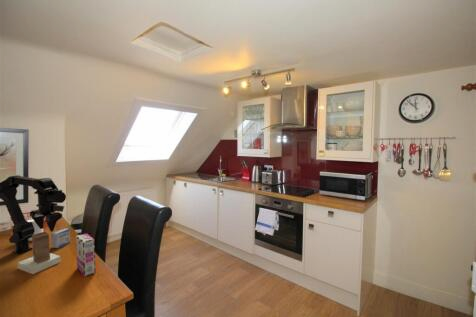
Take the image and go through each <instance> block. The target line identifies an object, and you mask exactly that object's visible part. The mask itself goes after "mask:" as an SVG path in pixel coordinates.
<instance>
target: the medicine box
mask: <svg viewBox="0 0 476 317" xmlns="http://www.w3.org/2000/svg"><path fill="white" fill-rule="evenodd" d="M50 238H51V248H53V249H60V248H62V247H64V246H66V245H68V244H70V243H71V239H70V238H71V236H70V228H62V229H59V230H56V231H53V232H52V233H50Z"/></svg>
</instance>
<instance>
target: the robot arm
mask: <svg viewBox="0 0 476 317" xmlns="http://www.w3.org/2000/svg"><path fill="white" fill-rule="evenodd" d="M20 186H27V187H31V188H32V189H33V190H36V191H34V192H33V194H34V195H37V204H36V207H37V208H38V209H33V210H31V211H30V212H29V217H31V218H30V219H33V220H34V221H35V222H36V224H37V225H38V226H39V228H40V229H43V230H44V224H45V223H46V225H47V227H48V229H49V232H52V233H53V232H54V230H55V226H56V224H57V222H58V221H59V220H61V219H62V218H63V212H64V208H65V206H64V205H59V204H62V203H64V202H65V201H66V199H67V195H66V194H65V192H63V190H62V189H59V188H58V186H57V185H56V184H55V182H54V181H53V179H52V178H50V177H44V178H35V177H34V178H33V177H27V176H21V175H17V174H16V175H10V176H8V177H7V178H6V179H4V180H3V181H0V200H2V201H3V203H4V205H5V208H6V209H7V212H8V213H9V217H10V219H11V220H12V223H13V227H12V235H11V236H10V237H9V239H8V241H9V243H12V244H14V249H13V250H12V251H11V252H12V253H15V254H17V255H19V254H22V253H25V252H28V251H31V250H33V247H30V242H29V238H31V237H32V235H33V234H34V232H35V230H34V228H35V227H34V226H33V223H32V222H28V221H27V220H26V218H25V216H24V213H23V211H22V208H21V206H20V204H19V201H18V199H17V194H18V190H17V188H19V187H20ZM61 212H62V213H61ZM44 221H45V222H44Z"/></svg>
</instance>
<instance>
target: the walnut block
mask: <svg viewBox="0 0 476 317" xmlns="http://www.w3.org/2000/svg"><path fill="white" fill-rule="evenodd" d="M31 242H32V244H31V245H32V257H33V260H34V262H36V263H37V264H39V263H41V262H44V261H47V260H50V252H51V251H50V234H49V233H48V232H46V231H43V232H42V233H38V234H34V235H32V241H31Z"/></svg>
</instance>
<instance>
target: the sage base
mask: <svg viewBox="0 0 476 317" xmlns="http://www.w3.org/2000/svg"><path fill="white" fill-rule="evenodd" d="M61 261H62V260H61V255H58V254H55V253H52V252H51V253H50V260H47V261H44V262H41V263H39V264H37V263H36V262H34V260H33V256H31V257H29V258H25V259H23V260H20V261H18V262H17V269H19V270H21V271H24V272H26V273H29V274H31V275H34V274H37V273H39V272H41V271H43V270H45V269H48V268H51V267H53V266H54V265H56V264H60V263H61Z"/></svg>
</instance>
